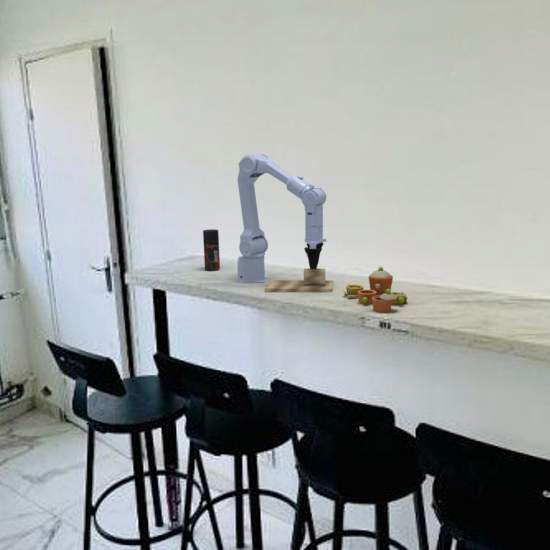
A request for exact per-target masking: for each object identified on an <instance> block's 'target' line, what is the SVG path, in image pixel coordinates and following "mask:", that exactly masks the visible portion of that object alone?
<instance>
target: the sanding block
mask: <svg viewBox="0 0 550 550" xmlns="http://www.w3.org/2000/svg"><path fill="white" fill-rule="evenodd" d="M303 280H304V286H325V280H326V268H317V269H310V268H304V269H303Z"/></svg>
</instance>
